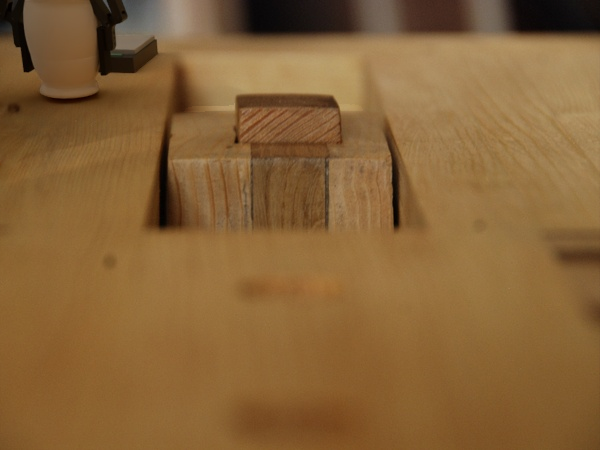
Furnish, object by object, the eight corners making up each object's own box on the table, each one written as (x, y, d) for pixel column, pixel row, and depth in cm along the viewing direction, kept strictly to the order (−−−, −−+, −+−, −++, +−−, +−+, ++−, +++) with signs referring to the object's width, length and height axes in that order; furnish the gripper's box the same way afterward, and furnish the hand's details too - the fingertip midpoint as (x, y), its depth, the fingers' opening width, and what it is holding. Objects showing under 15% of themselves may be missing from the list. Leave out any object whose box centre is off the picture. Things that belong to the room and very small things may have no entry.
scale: (75, 71, 130) (73, 51, 129) (104, 51, 143) (102, 33, 142) (134, 72, 129) (132, 52, 128) (157, 53, 142) (156, 34, 141)
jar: (19, 89, 117) (5, -18, 111) (85, 78, 124) (75, -24, 117) (52, 106, 110) (39, -8, 104) (120, 93, 116) (112, -15, 110)
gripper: (-48, -96, 104) (-22, 75, 113) (127, -92, 102) (139, 81, 111) (-21, -99, 111) (1, 62, 120) (144, -96, 109) (154, 68, 118)
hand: (68, 71), depth 116 cm, fingers closed on jar, 10 cm apart
